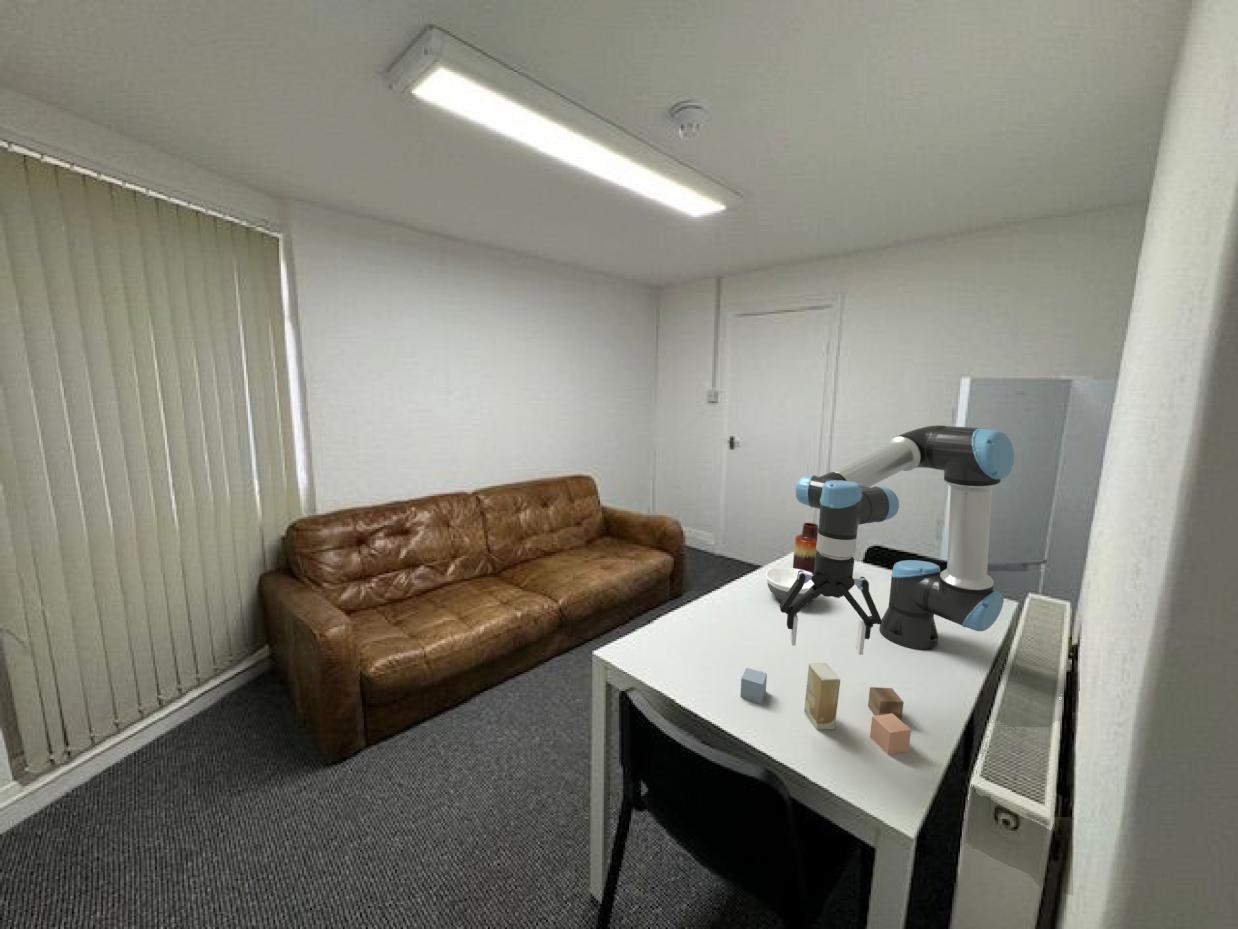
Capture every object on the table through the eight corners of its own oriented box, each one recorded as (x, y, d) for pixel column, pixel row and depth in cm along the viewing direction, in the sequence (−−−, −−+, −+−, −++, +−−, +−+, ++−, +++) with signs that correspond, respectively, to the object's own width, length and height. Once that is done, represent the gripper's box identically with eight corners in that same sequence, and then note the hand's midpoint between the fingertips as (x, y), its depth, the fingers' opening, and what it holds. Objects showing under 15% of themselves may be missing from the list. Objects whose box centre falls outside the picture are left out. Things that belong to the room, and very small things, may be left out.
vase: (795, 577, 187) (799, 527, 184) (790, 567, 198) (793, 520, 194) (824, 579, 185) (828, 529, 182) (817, 569, 196) (821, 521, 193)
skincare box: (803, 711, 109) (807, 662, 107) (821, 710, 110) (825, 661, 108) (817, 731, 103) (821, 679, 101) (836, 730, 103) (841, 679, 101)
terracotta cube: (889, 734, 103) (892, 713, 102) (908, 751, 98) (911, 729, 97) (869, 737, 101) (872, 716, 101) (887, 754, 97) (890, 733, 96)
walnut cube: (889, 707, 111) (892, 688, 110) (901, 722, 106) (903, 702, 105) (867, 706, 111) (870, 687, 111) (878, 721, 106) (880, 701, 106)
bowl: (824, 596, 170) (826, 574, 169) (814, 617, 155) (816, 593, 153) (772, 584, 180) (773, 563, 179) (757, 602, 165) (759, 580, 163)
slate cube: (765, 692, 116) (767, 673, 115) (761, 703, 112) (762, 684, 111) (745, 686, 118) (746, 667, 118) (740, 697, 114) (741, 678, 113)
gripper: (893, 554, 101) (882, 646, 105) (772, 542, 107) (765, 630, 110) (906, 566, 94) (894, 665, 97) (775, 553, 100) (767, 647, 103)
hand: (825, 647), depth 104 cm, fingers open, 13 cm apart
